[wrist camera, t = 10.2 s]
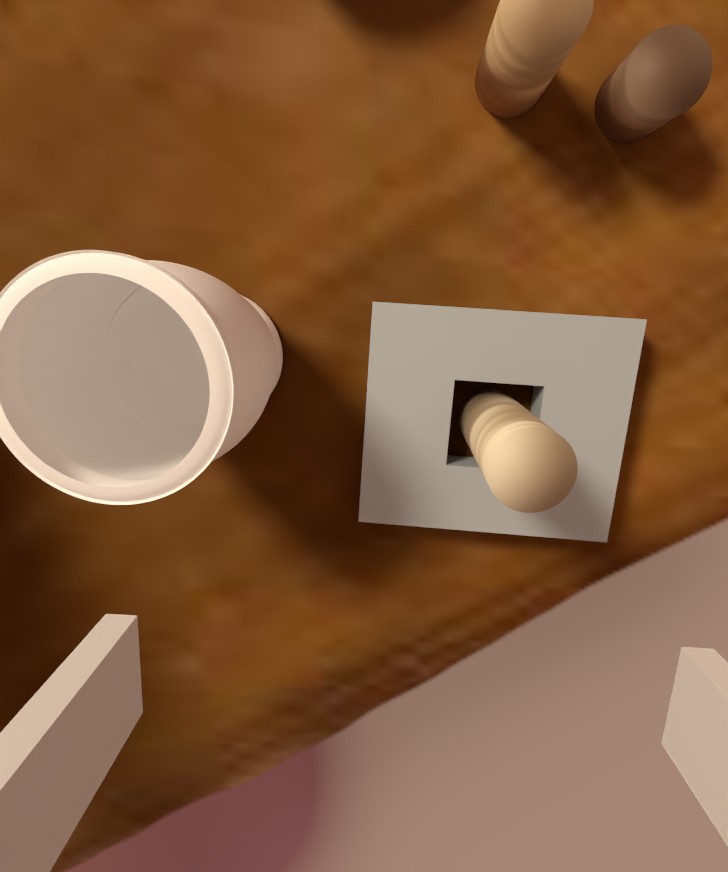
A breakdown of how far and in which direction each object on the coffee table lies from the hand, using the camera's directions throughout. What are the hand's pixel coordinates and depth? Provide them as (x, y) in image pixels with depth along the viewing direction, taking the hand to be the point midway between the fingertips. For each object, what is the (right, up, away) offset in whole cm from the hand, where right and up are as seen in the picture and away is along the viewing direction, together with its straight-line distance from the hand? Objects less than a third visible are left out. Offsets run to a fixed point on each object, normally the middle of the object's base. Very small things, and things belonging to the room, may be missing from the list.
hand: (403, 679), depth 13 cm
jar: (-10, +11, +23) cm, 28 cm away
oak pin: (+8, +27, +18) cm, 33 cm away
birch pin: (+7, +7, +23) cm, 25 cm away
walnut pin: (+14, +25, +18) cm, 34 cm away
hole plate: (+7, +7, +23) cm, 25 cm away
